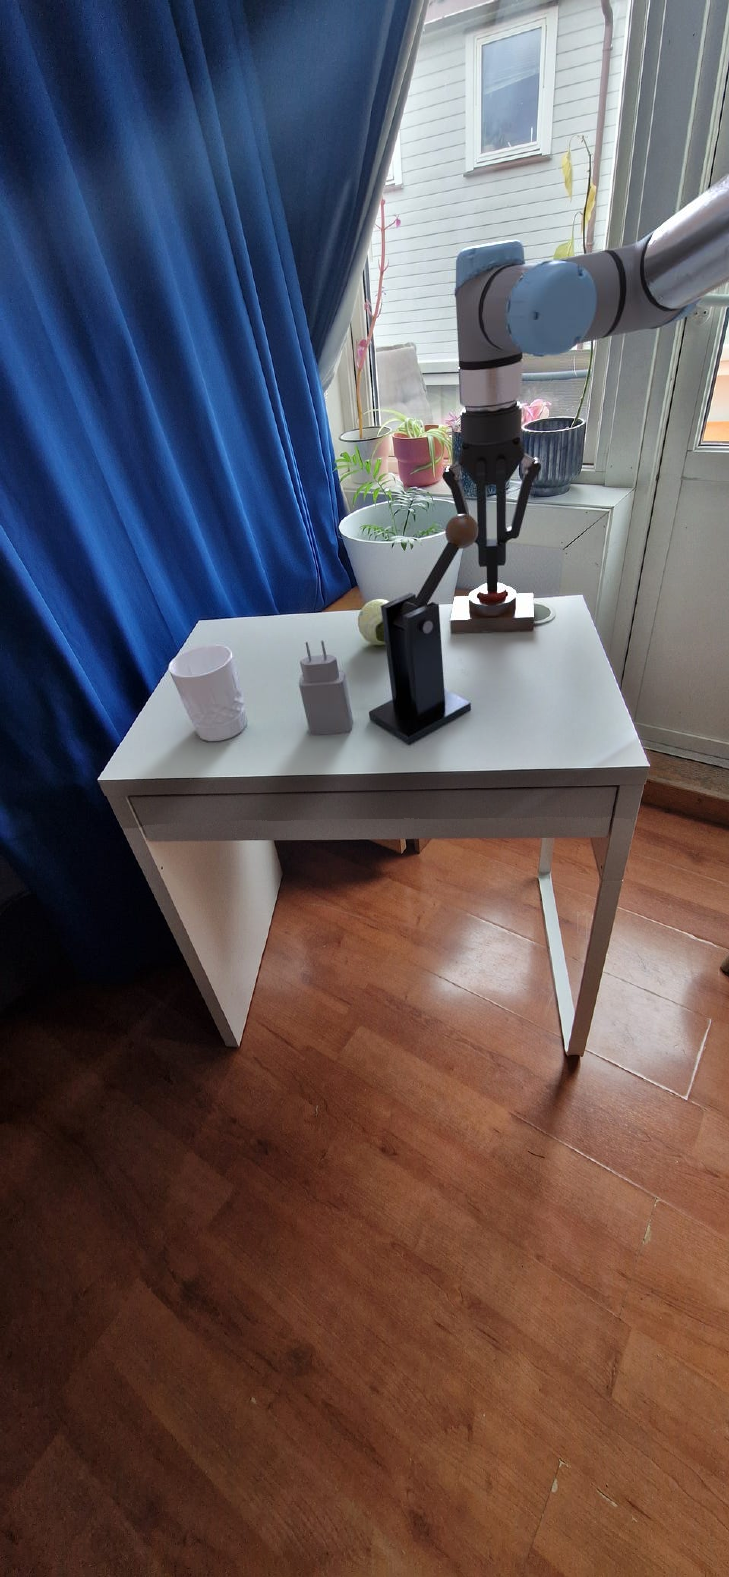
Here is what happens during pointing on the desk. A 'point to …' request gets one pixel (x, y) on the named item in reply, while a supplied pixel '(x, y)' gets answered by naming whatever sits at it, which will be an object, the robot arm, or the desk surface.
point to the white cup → (210, 691)
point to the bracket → (415, 674)
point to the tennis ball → (372, 622)
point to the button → (492, 593)
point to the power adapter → (325, 695)
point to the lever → (442, 561)
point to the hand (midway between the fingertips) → (492, 586)
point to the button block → (493, 613)
